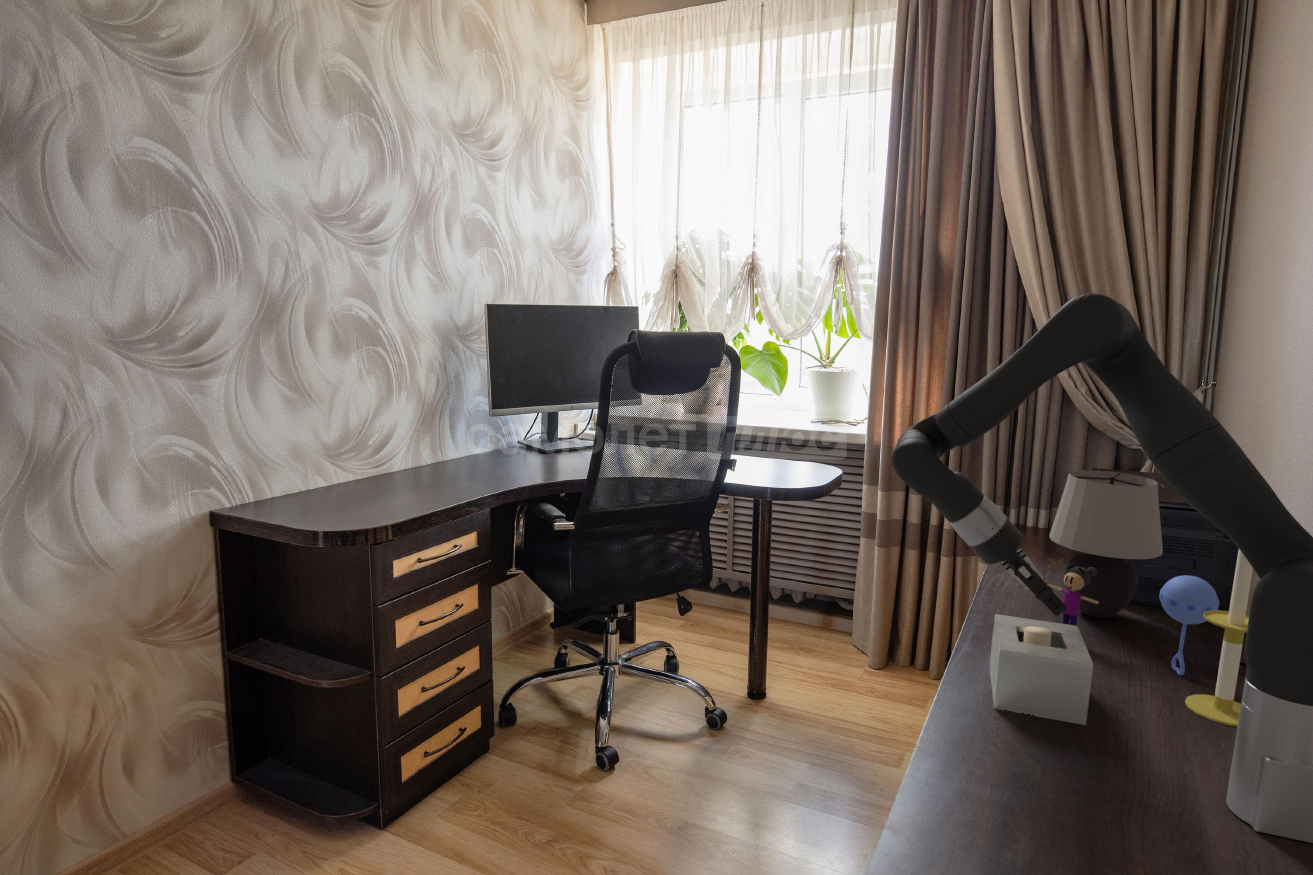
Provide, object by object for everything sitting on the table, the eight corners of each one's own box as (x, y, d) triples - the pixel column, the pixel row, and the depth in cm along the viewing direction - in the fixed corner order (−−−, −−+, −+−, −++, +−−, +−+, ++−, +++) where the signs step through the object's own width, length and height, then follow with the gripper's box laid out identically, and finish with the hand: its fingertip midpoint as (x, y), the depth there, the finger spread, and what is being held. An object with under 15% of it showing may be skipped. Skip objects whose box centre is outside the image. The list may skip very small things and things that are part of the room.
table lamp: (1171, 638, 153) (1192, 490, 149) (1059, 628, 157) (1075, 484, 152) (1128, 601, 174) (1145, 470, 169) (1029, 593, 177) (1043, 464, 172)
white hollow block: (1085, 725, 119) (1093, 664, 118) (994, 708, 124) (1000, 649, 122) (1070, 680, 134) (1077, 625, 133) (989, 667, 139) (994, 613, 137)
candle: (1205, 723, 121) (1236, 521, 116) (1172, 693, 131) (1199, 505, 125) (1276, 730, 120) (1310, 526, 114) (1237, 698, 129) (1267, 509, 124)
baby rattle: (1217, 687, 133) (1232, 587, 130) (1161, 681, 135) (1175, 582, 132) (1194, 665, 142) (1207, 571, 139) (1141, 660, 143) (1154, 566, 140)
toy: (1037, 631, 155) (1045, 559, 153) (1055, 627, 158) (1063, 556, 155) (1086, 652, 146) (1095, 575, 144) (1105, 647, 149) (1114, 572, 146)
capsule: (1048, 695, 126) (1052, 636, 125) (1021, 691, 128) (1025, 632, 127) (1045, 685, 130) (1049, 628, 129) (1019, 682, 132) (1023, 625, 131)
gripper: (1015, 525, 119) (1088, 603, 119) (993, 503, 133) (1058, 573, 132) (975, 556, 121) (1047, 633, 120) (958, 531, 134) (1022, 600, 134)
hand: (1053, 602), depth 126 cm, fingers open, 8 cm apart
